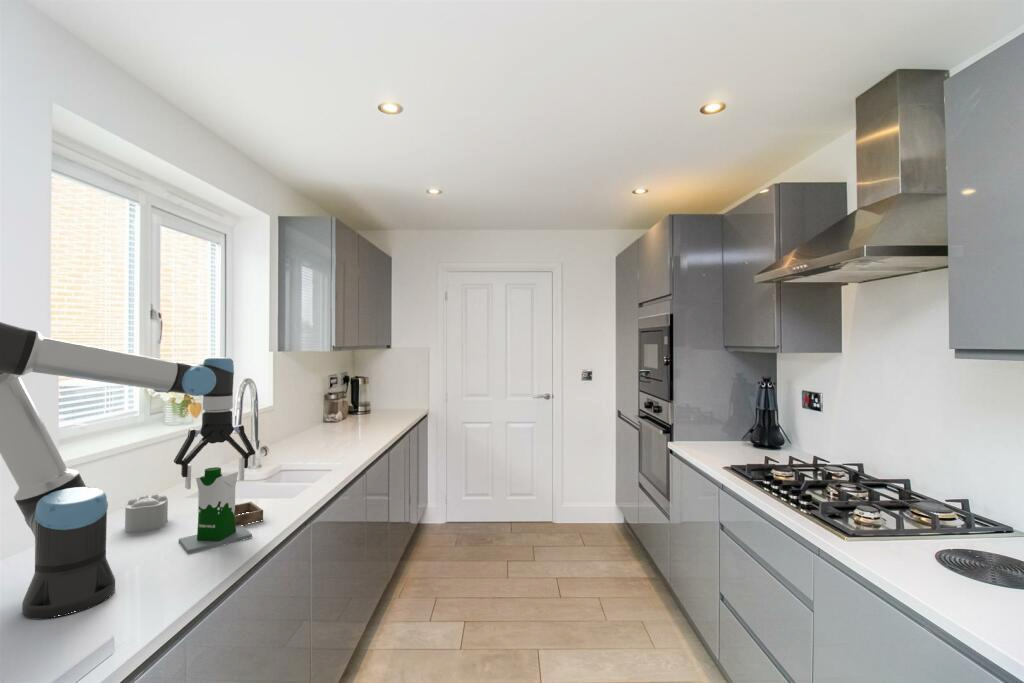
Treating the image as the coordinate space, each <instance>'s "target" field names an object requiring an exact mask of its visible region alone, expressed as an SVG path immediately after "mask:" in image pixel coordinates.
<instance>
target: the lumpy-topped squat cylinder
mask: <svg viewBox="0 0 1024 683" xmlns="http://www.w3.org/2000/svg"><path fill="white" fill-rule="evenodd" d="M168 500H169V498H168V497H167V495H166V494H161V495H159V494H158V493H153V494H151V495H148V494H143V495H141V496H140V497H138V498H135V497H133V498H130V499H129V500H128V502H127V504H126V506H125V510H124V511H125V512H124V516H125V519H124V531H126V533H137V531H138V532H143V531H142V530H144V531H150V530H151V529H152V530H157V529H160V527H161V528H162V526H163V527H165V525H167V523H168V518H169V517H168V511H169V510H168V509H169V506H168V505H169V504H168V502H169V501H168ZM156 528H157V529H156Z"/></svg>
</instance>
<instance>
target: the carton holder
mask: <svg viewBox="0 0 1024 683" xmlns="http://www.w3.org/2000/svg"><path fill="white" fill-rule="evenodd" d="M246 512H249V513H246ZM242 513H244V514H242ZM238 514H240V515H238ZM261 520H263V521H264V510H263V508H261V507H260V506H258V505H257V504H255V503H254V502H252V501H248V502H243V503H238V504H237V503H236V504H235V524H236V525H244V526H246V525H245V524H248V523H252V522H256V521H261ZM261 522H262V521H261ZM248 525H249V524H248Z"/></svg>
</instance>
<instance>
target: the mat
mask: <svg viewBox="0 0 1024 683" xmlns="http://www.w3.org/2000/svg"><path fill="white" fill-rule="evenodd" d="M250 537H252V538H253V533H251V532H250V531H249V530H248V529H246V527H244V526H241V525H236V532H235V533H233V534H232V535H230V536H228V537H226V538H225V539H223V540H221V541H201V540H197V534H194V535H189V536H183V537H181V538H178V544H180V546H181V547H182V548H183V549H184V551H185V552H186V553H187V555H189V554H193V553H196V552H200V551H205V550H209V549H212V548H216V547H220V546H224V544H225V545H228V543H229V544H231V542H233V543H236V542H235V541H237V542H240V540H241V541H244V540H243V539H245V540H247V539H246V538H249V539H251V538H250Z"/></svg>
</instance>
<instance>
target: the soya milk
mask: <svg viewBox="0 0 1024 683" xmlns="http://www.w3.org/2000/svg"><path fill="white" fill-rule="evenodd" d="M238 477H239V471H232V470H230V471H229V470H227V471H226V470H222V467H219V466H218V467H215V466H214V467H209V468H205V469H204V474H202V475H199V476H196V478H195V479H196V484H197V485H196V486H197V489H198V492H197V493H198V499H197V500H198V502H197V504H198V506H197V508H198V509H197V511H198V512H197V530H196V531H197V532H196V535H197V540H201V541H221V540H223V539H225V538H226V537H228V536H230V535H232V534H233V533H235V532H236V524H235V505H236V486H237V485H236V484H237V480H238Z"/></svg>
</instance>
